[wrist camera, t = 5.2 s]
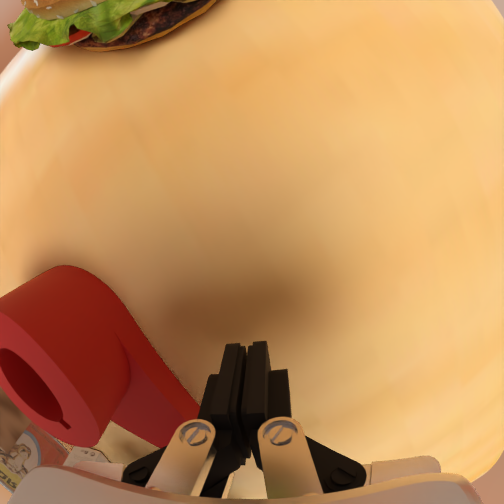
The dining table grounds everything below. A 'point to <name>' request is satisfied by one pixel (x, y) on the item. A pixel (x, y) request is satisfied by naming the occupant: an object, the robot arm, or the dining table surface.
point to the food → (100, 22)
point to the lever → (85, 362)
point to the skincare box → (84, 456)
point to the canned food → (30, 455)
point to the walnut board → (10, 422)
